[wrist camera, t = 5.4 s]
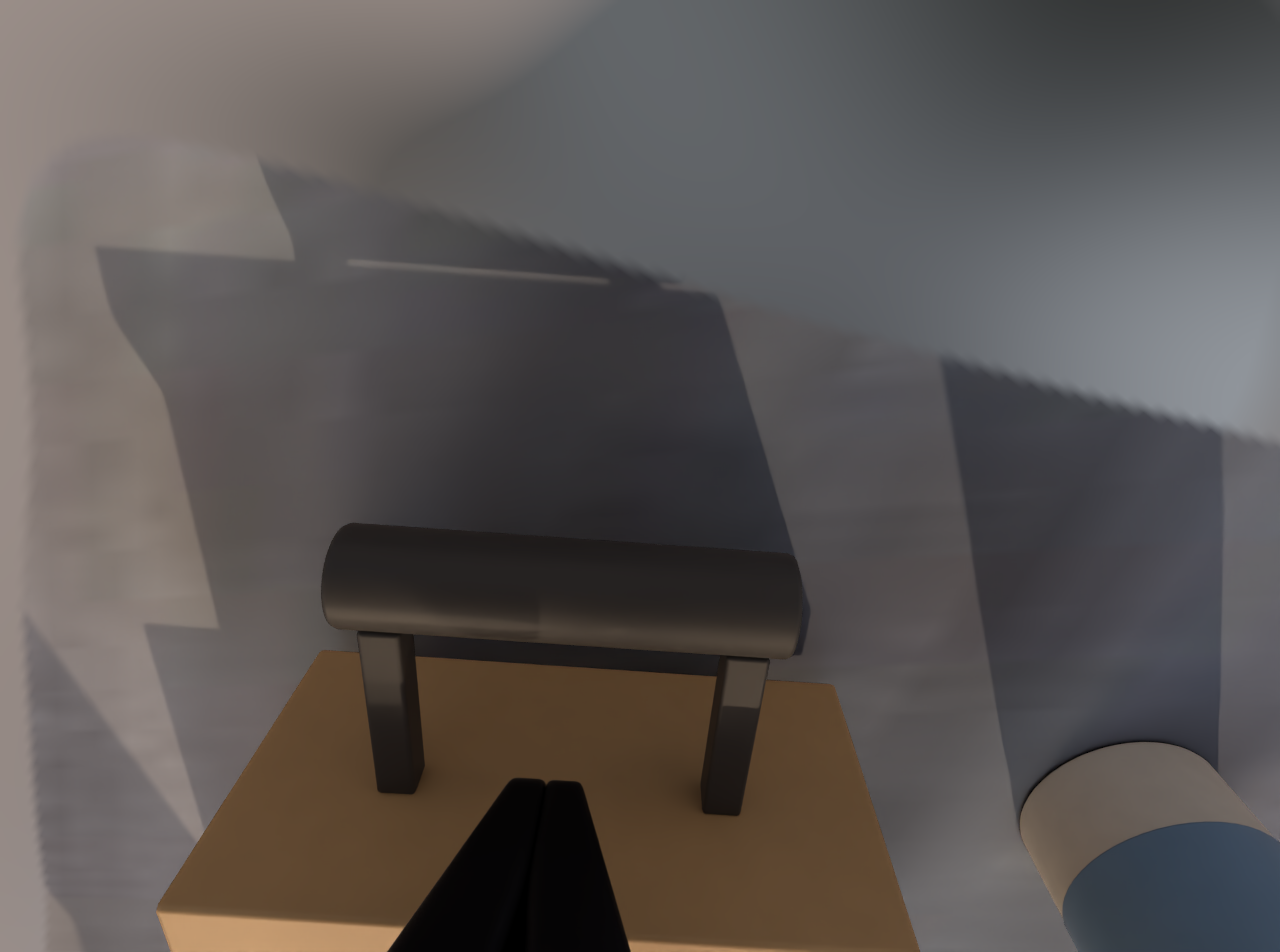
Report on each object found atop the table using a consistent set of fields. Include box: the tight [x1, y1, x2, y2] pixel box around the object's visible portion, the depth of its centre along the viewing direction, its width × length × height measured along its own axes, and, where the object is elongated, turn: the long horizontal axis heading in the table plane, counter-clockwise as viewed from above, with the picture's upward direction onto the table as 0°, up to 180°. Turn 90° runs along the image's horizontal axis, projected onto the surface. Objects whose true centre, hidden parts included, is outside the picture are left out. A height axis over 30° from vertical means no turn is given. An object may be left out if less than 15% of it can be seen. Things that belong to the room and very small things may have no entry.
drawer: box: [156, 523, 920, 952], centre depth 13 cm, size 18×10×5 cm, turn 176°
